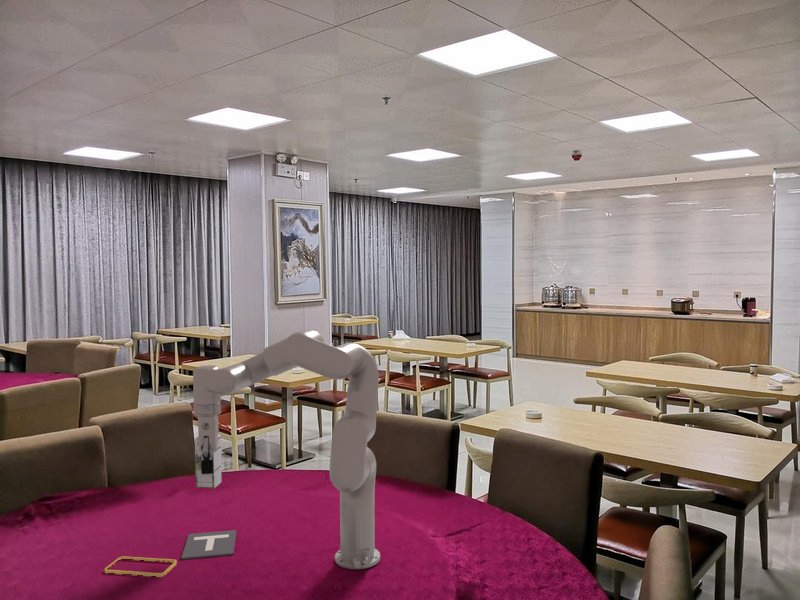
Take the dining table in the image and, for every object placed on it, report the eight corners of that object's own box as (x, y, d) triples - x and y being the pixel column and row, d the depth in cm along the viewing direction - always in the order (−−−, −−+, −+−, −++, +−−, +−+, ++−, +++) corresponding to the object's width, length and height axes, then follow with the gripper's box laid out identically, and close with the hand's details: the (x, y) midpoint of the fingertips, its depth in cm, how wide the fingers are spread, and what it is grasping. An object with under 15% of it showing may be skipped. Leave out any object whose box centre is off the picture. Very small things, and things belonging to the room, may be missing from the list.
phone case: (120, 560, 176) (120, 556, 176) (178, 564, 174) (178, 559, 173) (103, 574, 168) (102, 570, 168) (163, 579, 165) (162, 574, 165)
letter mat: (233, 554, 178) (233, 552, 178) (181, 559, 175) (181, 557, 175) (236, 531, 194) (236, 529, 194) (188, 535, 191) (188, 533, 191)
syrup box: (222, 481, 186) (221, 433, 185) (214, 488, 180) (213, 438, 180) (203, 481, 187) (202, 432, 186) (195, 488, 181) (194, 438, 180)
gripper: (218, 414, 175) (219, 478, 176) (223, 401, 192) (224, 459, 193) (190, 416, 173) (191, 480, 174) (197, 403, 190) (198, 461, 191)
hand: (208, 468), depth 183 cm, fingers closed on syrup box, 7 cm apart
